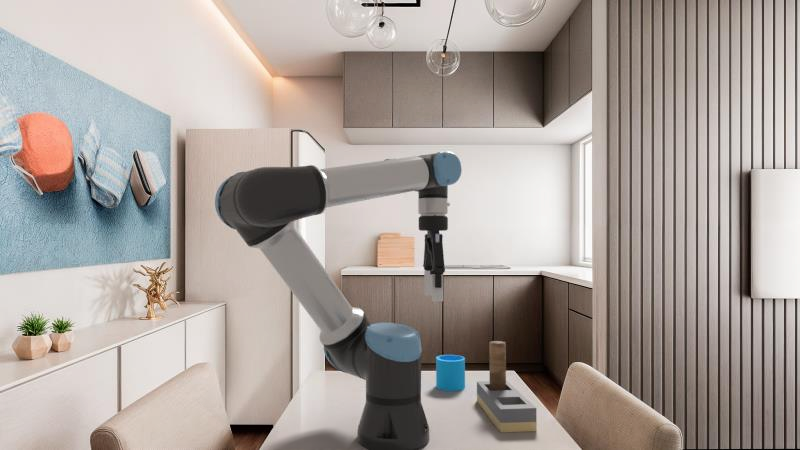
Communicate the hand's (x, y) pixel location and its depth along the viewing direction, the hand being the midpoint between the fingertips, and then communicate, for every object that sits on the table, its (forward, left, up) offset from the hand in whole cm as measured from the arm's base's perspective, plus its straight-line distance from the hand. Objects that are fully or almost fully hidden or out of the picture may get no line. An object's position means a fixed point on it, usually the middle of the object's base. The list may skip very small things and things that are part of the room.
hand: (433, 298), depth 136 cm
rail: (+8, -17, -27) cm, 33 cm away
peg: (+11, -12, -25) cm, 30 cm away
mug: (+14, +10, -27) cm, 32 cm away
